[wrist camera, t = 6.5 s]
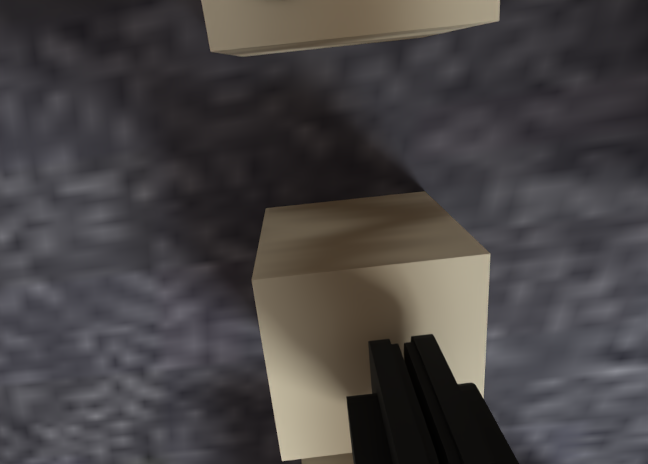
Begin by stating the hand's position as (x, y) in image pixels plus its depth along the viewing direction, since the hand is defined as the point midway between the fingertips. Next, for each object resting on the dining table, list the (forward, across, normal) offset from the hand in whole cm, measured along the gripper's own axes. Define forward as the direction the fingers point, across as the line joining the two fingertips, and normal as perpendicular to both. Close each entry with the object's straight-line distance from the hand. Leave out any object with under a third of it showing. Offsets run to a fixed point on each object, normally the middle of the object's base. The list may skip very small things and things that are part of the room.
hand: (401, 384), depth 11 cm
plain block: (+7, +1, 0) cm, 7 cm away
